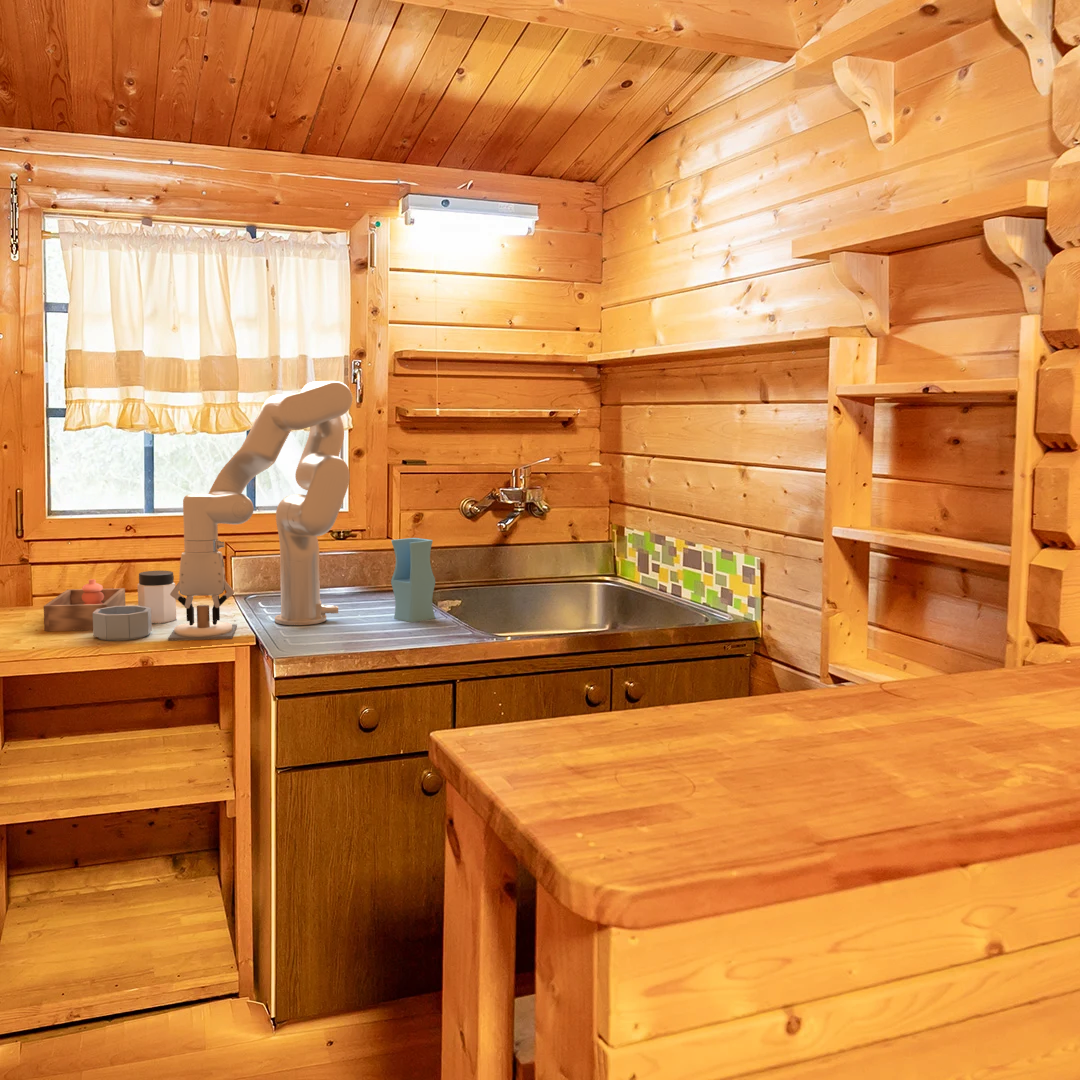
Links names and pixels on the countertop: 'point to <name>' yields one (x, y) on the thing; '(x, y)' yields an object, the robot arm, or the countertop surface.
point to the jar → (157, 595)
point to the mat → (222, 636)
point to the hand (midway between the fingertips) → (203, 623)
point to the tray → (77, 609)
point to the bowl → (122, 622)
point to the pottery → (92, 593)
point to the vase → (413, 580)
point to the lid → (203, 625)
